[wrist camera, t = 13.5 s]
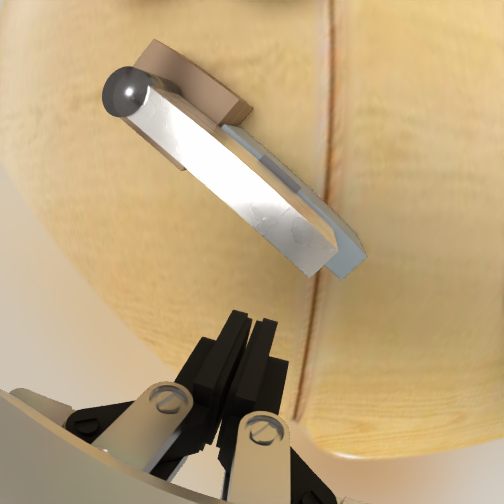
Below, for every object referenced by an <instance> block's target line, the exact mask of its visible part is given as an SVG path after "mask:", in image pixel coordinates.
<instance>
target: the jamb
mask: <svg viewBox="0 0 504 504" xmlns="http://www.w3.org/2000/svg"><path fill="white" fill-rule="evenodd" d="M133 67H135V68H138V69H140V70H143V71H146V72H149V73H152V74H155V75H157V76H160V77H163V78H166V79H168V80H171V81H172V82H174V83H175V84H176V85H177V87H178V89H179V91H180V96H181V97H183V98H184V99H185V100H186V101H188V102H189V103H190V104H192V105H193V106H194V107H195V108H197V109H198V110H199V111H200V112H202V113H203V114H204V115H205V116H207V117H208V118H209V119H210V120H212V121H213V122H214V123H215V124H217V125H218V126H219V127H220V128H221V127H222V126H223V125H224V124H226V125H231V126H235V127H238V126H239V124H240V123H241V122H242V121H243V120H244V119H245V117H246V116H247V115H248V114H249V113H250V112H251V111H252V110H253V108H252V107H251V106H250V105H249V104H248V103H246V102H245V101H244V100H243V99H241V98H240V97H239V96H237V95H236V94H235V93H234V92H232V91H231V90H230V89H228V88H227V87H226V86H224V85H223V84H222V83H220V82H219V81H218V80H216V79H215V78H214V77H212V76H211V75H210V74H208V73H207V72H206V71H204V70H203V69H201V68H200V67H199V66H197V65H196V64H194V63H193V62H192V61H190V60H189V59H187V58H186V57H184V56H183V55H181V54H180V53H178V52H176V51H175V50H173V49H171V48H170V47H168V46H166V45H164V44H163V43H161V42H159V41H157V40H156V39H153V41H152V42H151V43H150V44H149V46H148V47H147V48H146V50H145V51H144V52H143V53H142V55H141V56H140V57H139V59H138V60H137V61H136V63H135V64H134V66H133ZM120 118H121V119H122V120H123V121H124V122H126V123H127V124H128V125H129V126H130V127H131V128H132V129H134V130H135V131H136V132H137V133H138V134H139V135H140V136H142V137H143V138H144V139H145V140H146V141H147V142H149V143H150V144H151V145H152V146H153V147H154V148H155V149H157V150H158V151H159V152H160V153H161V154H162V155H163V156H165V157H166V158H167V159H168V160H169V161H170V162H171V163H173V164H174V165H175V166H176V167H177V168H178V169H179V170H180V171H183V170H187V169H186V168H185V167H184V166H183V165H182V164H181V163H179V162H178V161H177V160H176V159H175V158H174V157H173V156H171V155H170V154H169V153H168V152H167V151H166V150H164V149H163V148H162V147H161V146H160V145H159V144H157V143H156V142H155V141H154V140H153V139H152V138H150V137H149V136H148V135H147V134H146V133H145V132H143V131H142V130H141V129H140V128H139V127H138V126H136V125H135V124H134V123H133V122H132V121H131V120H129V119H128V118H125V117H120Z"/></svg>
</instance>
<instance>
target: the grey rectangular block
mask: <svg viewBox="0 0 504 504" xmlns="http://www.w3.org/2000/svg"><path fill="white" fill-rule="evenodd" d="M221 129H223V130H224V131H225V132H226V133H227V134H229V135H230V136H231V137H232V138H233V139H235V140H236V141H237V142H238V143H239V144H241V145H242V146H243V147H244V148H245V149H246V150H248V151H249V152H250V153H251V154H252V155H253V156H255V157H256V158H257V159H258V160H259V161H260V162H261V163H263V164H264V165H265V166H266V167H267V168H268V169H269V170H271V171H272V172H273V173H274V174H275V175H276V176H277V177H278V178H280V179H281V180H282V181H283V182H284V183H285V184H286V185H287V186H288V187H289V188H291V189H292V190H293V191H294V192H295V193H296V194H297V195H298V196H299V197H300V198H301V199H302V200H304V201H305V202H306V203H307V204H308V205H309V206H310V207H311V208H312V209H313V210H314V211H315V212H316V213H317V214H318V215H319V216H320V217H322V218H323V219H324V220H325V221H326V222H327V223H328V224H329V225H330V226H331V227H332V228H333V230H334V234H335V238H336V242H337V246H338V250H339V251H338V252H337V253H336V254H335V255H334V256H333V257H332V258H331V259H330V260H329V261H328V262H327V263H326V264H325V266H326V267H327V268H329V269H330V270H331V271H332V272H333V273H334V274H335V275H336V276H337V277H338V278H339V279H340V280H342V279H343V278H345V277H346V276H347V275H348V274H349V273H350V272H351V271H352V270H353V269H354V268H356V267H357V266H358V265H359V264H360V263H361V262H362V261H363V260H364V259H365V258H366V257H367V255H366V253H365V251H364V249H363V246H362V244H361V242H360V240H359V238H358V236H357V234H356V233H355V232H354V231H353V230H352V229H351V228H350V227H349V226H348V225H347V224H346V223H345V222H344V221H343V220H342V219H341V218H340V217H339V216H338V215H337V214H336V213H335V212H334V211H333V210H332V209H331V208H330V207H329V206H328V205H327V204H326V203H325V202H323V201H322V200H321V199H320V198H319V197H318V196H317V195H316V194H315V193H314V192H313V191H312V190H311V189H310V188H309V187H308V186H307V185H306V184H305V183H303V182H302V181H301V180H300V179H299V178H298V177H297V176H296V175H295V174H294V173H293V172H292V171H290V170H289V169H288V168H287V167H286V166H285V165H284V164H283V163H282V162H280V161H279V160H278V159H277V158H276V157H275V156H274V155H273V154H271V153H270V152H269V151H268V150H267V149H266V148H265V147H263V146H262V145H261V144H260V143H259V142H258V141H256V140H255V139H254V138H253V137H252V136H251V135H249V134H248V133H247V132H246V131H245V130H243V129H242V128H240V127H235V126H231V125H226V124H224V125H223V126H222V127H221Z"/></svg>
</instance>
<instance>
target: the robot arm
mask: <svg viewBox="0 0 504 504" xmlns="http://www.w3.org/2000/svg"><path fill="white" fill-rule="evenodd" d="M247 317H248V314H247V313H244V312H240V311H237V310H233V311H232V313H231V314H230V316H229V318H228V320H227V322H226V324H225V325H224V327H223V329H222V331H221V333H220V335H219V337H218V338H217V340H216V341H215V340H212V339H209V338H206V337H202V338H201V339H200V341H199V342H198V344H197V345H196V347H195V349H194V350H193V352H192V354H191V355H190V357H189V358H188V360H187V362H186V363H185V365H184V366H183V368H182V370H181V371H180V373H179V374H178V376H177V378H176V379H175V381H174V382H167V381H166V382H159V383H156V384H153V385H152V386H150V387H149V388H148V389H147V390H146V391H145V392H144V393H143V394H142V395H141V396H140V397H139V398H138V399H137V400H135V401H130V402H124V403H119V404H112V405H106V406H100V407H93V408H86V409H81V410H77V411H75V410H72V407H71V406H69V405H66V404H63V403H61V402H58V401H55V400H52V399H50V398H47V397H45V396H42V395H40V394H37V393H35V392H32V391H30V390H28V389H24V388H18V389H15V390H12V391H11V392H10V393H7V392H5V391H3V390H0V504H369V503H365V502H362V501H358V500H354V499H351V498H348V497H345V498H344V499H342V498H338V497H335V495H334V494H333V493H332V491H331V490H330V489H329V488H328V487H327V486H326V485H325V484H324V483H323V482H322V481H321V479H320V478H319V477H318V476H317V475H316V474H315V473H314V472H313V471H312V470H311V469H310V468H309V466H308V465H307V464H306V463H305V462H304V461H303V460H302V459H301V458H300V457H299V455H298V454H297V453H296V452H295V451H294V450H293V449H292V447H291V446H290V432H289V427H288V426H287V424H286V422H285V421H284V420H283V419H282V418H281V417H279V416H278V414H279V409H280V404H281V399H282V395H283V390H284V385H285V380H286V375H287V369H288V364H289V361H286V360H282V359H278V358H274V357H270V356H269V353H270V349H271V346H272V342H273V338H274V335H275V331H276V327H277V324H278V322H276V321H273V320H269V319H265V318H263V321H262V322H261V321H258V320H257V321H256V323H255V326H254V329H253V331H252V334H251V336H250V339H249V341H248V336H249V332H250V328H251V324H252V319H251V318H247ZM247 341H248V344H247ZM246 345H247V347H246ZM221 420H222V422H221ZM220 423H221V426H220V431H219V435H218V440H217V444H216V447H219V448H220V451H219V455H218V460H219V461H220V463H221V464H222V466H223V467H224V469H225V472H224V478H223V486H222V492H221V498H220V499H217V498H213V497H210V496H207V495H204V494H201V493H197V492H194V491H192V490H189V489H186V488H183V487H180V486H177V485H175V484H172V483H170V482H171V481H172V479H173V478H174V476H175V475H176V474H177V472H178V471H179V470H180V468H181V467H182V466H183V464H184V463H185V461H186V460H187V458H188V455H191V454H195V453H198V452H199V450H201V451H203V449H204V446H205V444H209V445H211V444H212V442H213V440H214V438H215V435H216V433H217V430H218V428H219V425H220Z"/></svg>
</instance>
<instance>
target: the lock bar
mask: <svg viewBox="0 0 504 504" xmlns="http://www.w3.org/2000/svg"><path fill="white" fill-rule="evenodd" d="M102 101H103V105H104V107H105V109H106V111H107V112H108V113H109V114H111V115H112V116H115V117H125V118H128V119H129V120H131V121H132V122H133V123H134V124H135V125H136V126H138V127H139V128H140V129H141V130H142V131H143V132H145V133H146V134H147V135H148V136H149V137H150V138H152V139H153V140H154V141H155V142H156V143H157V144H159V145H160V146H161V147H162V148H163V149H164V150H166V151H167V152H168V153H169V154H170V155H171V156H173V157H174V158H175V159H176V160H177V161H178V162H179V163H181V164H182V165H183V166H184V167H185V168H186V169H187V170H189V171H190V172H191V173H192V174H193V175H194V176H195V177H197V178H198V179H199V180H200V181H201V182H202V183H203V184H205V185H206V186H207V187H208V188H209V189H210V190H211V191H213V192H214V193H215V194H216V195H217V196H218V197H219V198H221V199H222V200H223V201H224V202H225V203H226V204H227V205H228V206H230V207H231V208H232V209H233V210H234V211H235V212H236V213H237V214H239V215H240V216H241V217H242V218H243V219H244V220H245V221H246V222H248V223H249V224H250V225H251V226H252V227H253V228H254V229H255V230H256V231H258V232H259V233H260V234H261V235H262V236H263V237H264V238H265V239H267V240H268V241H269V242H270V243H271V244H272V245H273V246H274V247H275V248H277V249H278V250H279V251H280V252H281V253H282V254H283V255H284V256H285V257H286V258H288V259H289V260H290V261H291V262H292V263H293V264H294V265H295V266H296V267H297V268H299V269H300V270H301V271H302V272H303V273H304V274H305V275H306V276H307V277H308V278H311V277H312V276H313V275H314V274H315V273H316V272H317V271H318V270H319V269H320V268H321V267H322V266H324V265H325V264H326V263H327V262H328V261H329V260H330V259H331V258H332V257H333V256H334V255H335V254H336V253H337V252H338V251H339V250H338V246H337V242H336V238H335V234H334V230H333V228H332V227H331V226H330V225H329V224H328V223H327V222H326V221H325V220H324V219H323V218H322V217H320V216H319V215H318V214H317V213H316V212H315V211H314V210H313V209H312V208H311V207H310V206H309V205H308V204H307V203H306V202H305V201H304V200H302V199H301V198H300V197H299V196H298V195H297V194H296V193H295V192H294V191H293V190H292V189H291V188H289V187H288V186H287V185H286V184H285V183H284V182H283V181H282V180H281V179H280V178H278V177H277V176H276V175H275V174H274V173H273V172H272V171H271V170H269V169H268V168H267V167H266V166H265V165H264V164H263V163H261V162H260V161H259V160H258V159H257V158H256V157H255V156H253V155H252V154H251V153H250V152H249V151H248V150H246V149H245V148H244V147H243V146H242V145H241V144H239V143H238V142H237V141H236V140H235V139H233V138H232V137H231V136H230V135H229V134H227V133H226V132H225V131H224V130H223V129H221V128H220V127H219V126H218V125H217V124H215V123H214V122H213V121H212V120H210V119H209V118H208V117H207V116H205V115H204V114H203V113H202V112H200V111H199V110H198V109H197V108H195V107H194V106H193V105H192V104H190V103H189V102H188V101H186V100H185V99H184V98H183V97H181V96H180V91H179V89H178V87H177V85H176V84H175V83H174V82H172V81H171V80H168V79H166V78H163V77H160V76H157V75H155V74H152V73H149V72H146V71H143V70H140V69H138V68H135V67H130V66H127V67H122V68H120V69H118V70H116V71H115V72H113V73H112V74H111V75H110V77H109V78H108V79H107V81H106V83H105V85H104V88H103V92H102Z"/></svg>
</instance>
